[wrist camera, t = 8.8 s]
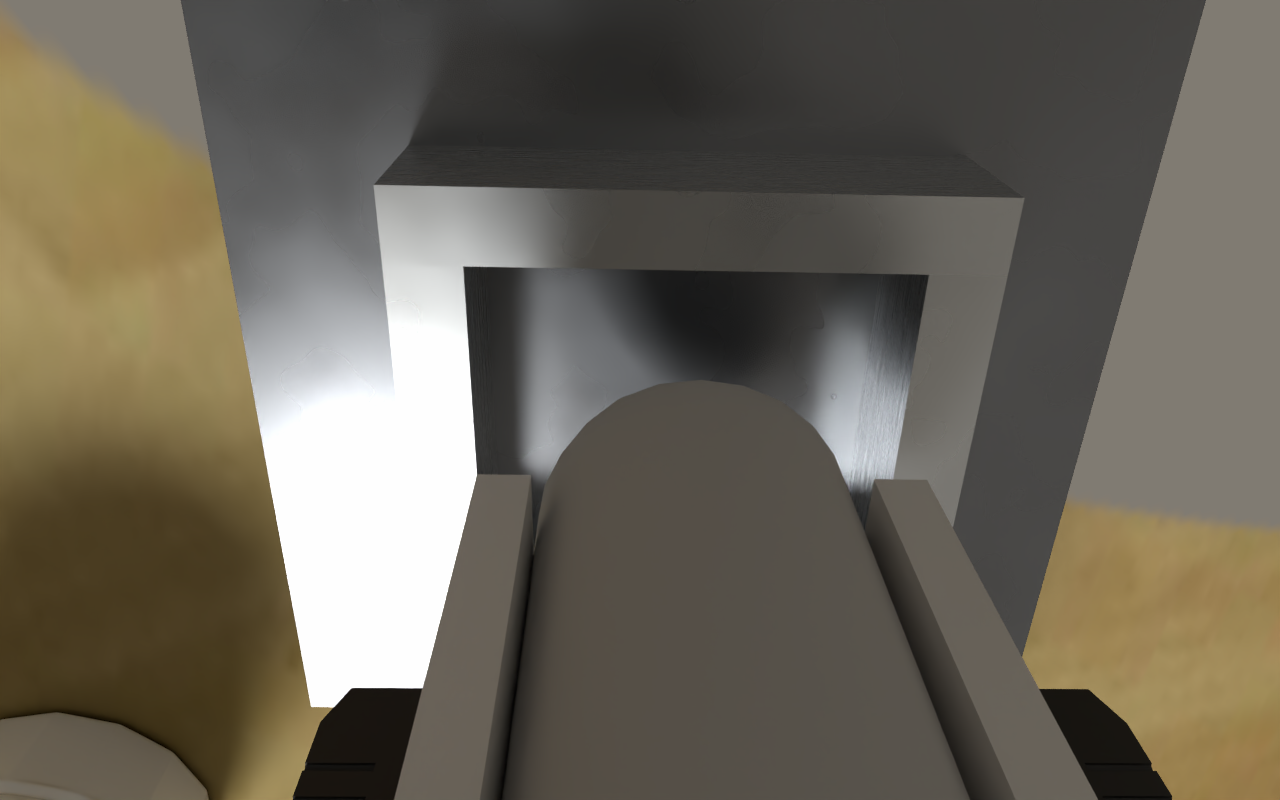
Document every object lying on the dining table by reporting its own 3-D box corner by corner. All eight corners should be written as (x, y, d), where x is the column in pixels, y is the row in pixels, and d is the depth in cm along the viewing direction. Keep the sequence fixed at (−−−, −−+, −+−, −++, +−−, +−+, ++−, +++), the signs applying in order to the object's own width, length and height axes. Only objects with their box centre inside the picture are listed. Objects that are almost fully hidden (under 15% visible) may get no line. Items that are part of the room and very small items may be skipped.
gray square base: (204, -85, 15) (81, -81, 12) (1171, -58, 16) (1329, -47, 12) (329, 659, 23) (275, 798, 19) (984, 663, 23) (1050, 799, 20)
